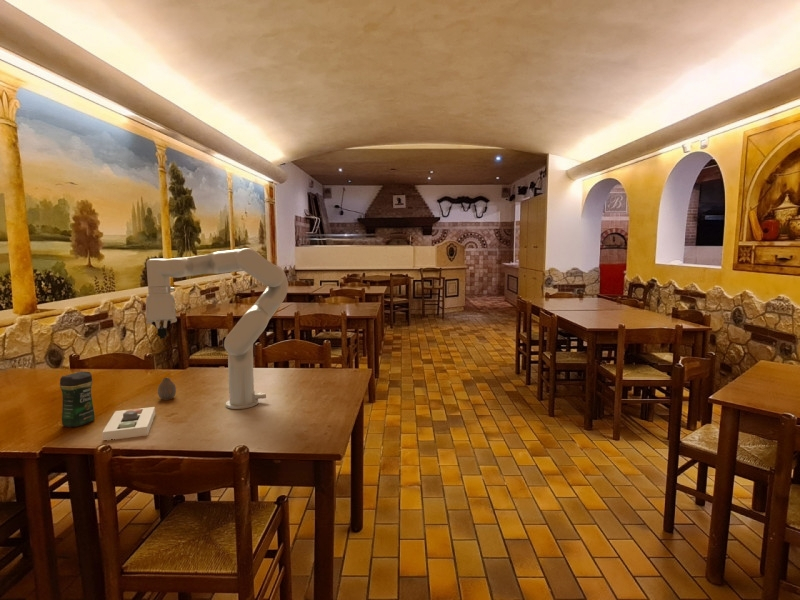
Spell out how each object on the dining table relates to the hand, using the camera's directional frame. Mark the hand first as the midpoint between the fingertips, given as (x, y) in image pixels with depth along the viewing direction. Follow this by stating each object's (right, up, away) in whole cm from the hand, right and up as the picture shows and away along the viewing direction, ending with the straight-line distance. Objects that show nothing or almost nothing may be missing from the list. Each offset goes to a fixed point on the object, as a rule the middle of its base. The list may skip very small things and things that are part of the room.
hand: (162, 337), depth 179 cm
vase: (-7, -27, +17) cm, 33 cm away
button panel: (-3, -30, -15) cm, 34 cm away
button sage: (-1, -30, -22) cm, 37 cm away
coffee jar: (-24, -30, -12) cm, 40 cm away
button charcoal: (-3, -28, -15) cm, 32 cm away
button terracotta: (-6, -29, -9) cm, 31 cm away
